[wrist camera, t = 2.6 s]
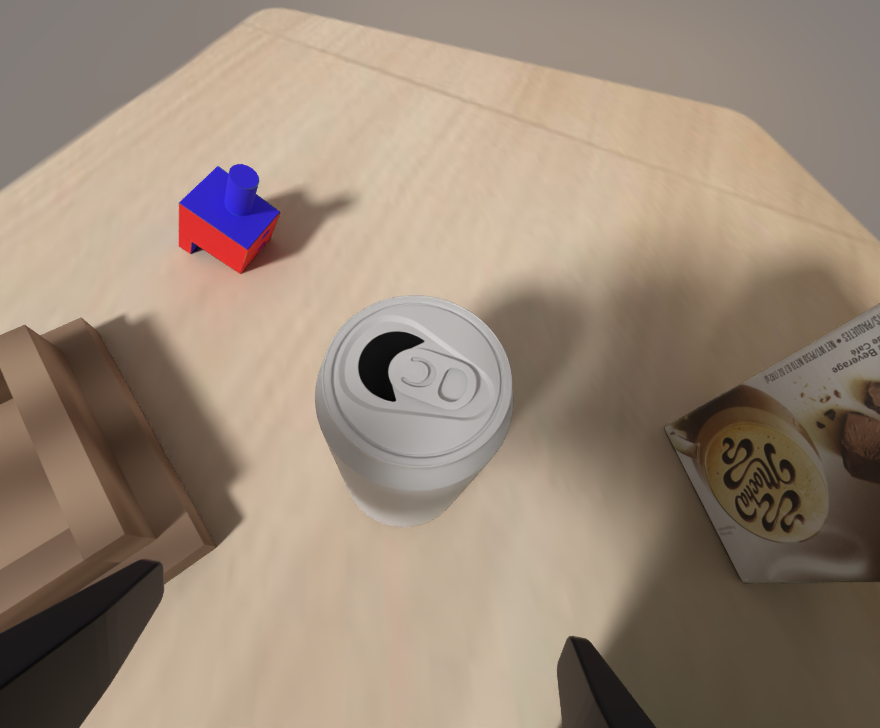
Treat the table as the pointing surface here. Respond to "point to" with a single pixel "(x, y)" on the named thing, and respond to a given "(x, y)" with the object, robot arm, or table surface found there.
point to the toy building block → (227, 217)
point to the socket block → (80, 474)
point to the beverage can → (413, 405)
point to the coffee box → (795, 462)
